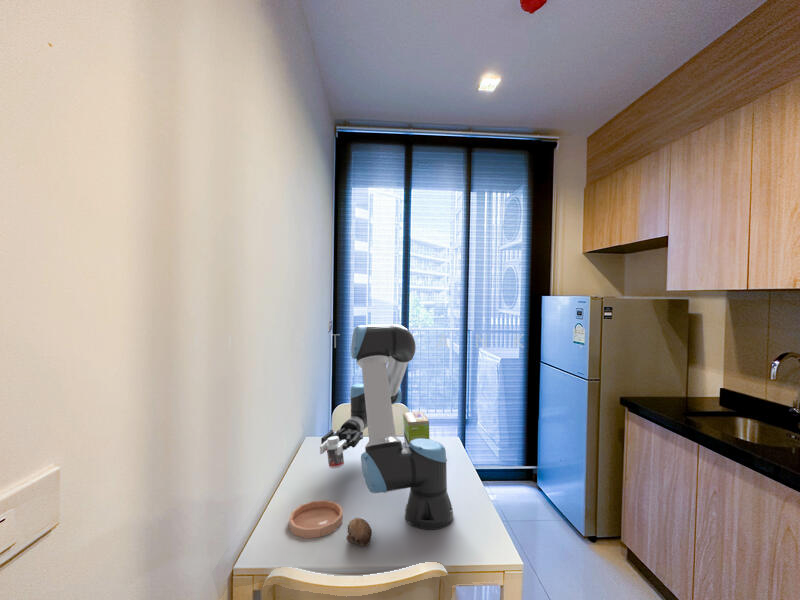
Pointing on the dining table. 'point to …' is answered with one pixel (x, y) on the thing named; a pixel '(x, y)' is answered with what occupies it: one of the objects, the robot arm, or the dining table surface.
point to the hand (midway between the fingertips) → (329, 450)
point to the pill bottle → (334, 453)
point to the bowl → (316, 519)
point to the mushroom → (359, 532)
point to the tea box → (415, 426)
